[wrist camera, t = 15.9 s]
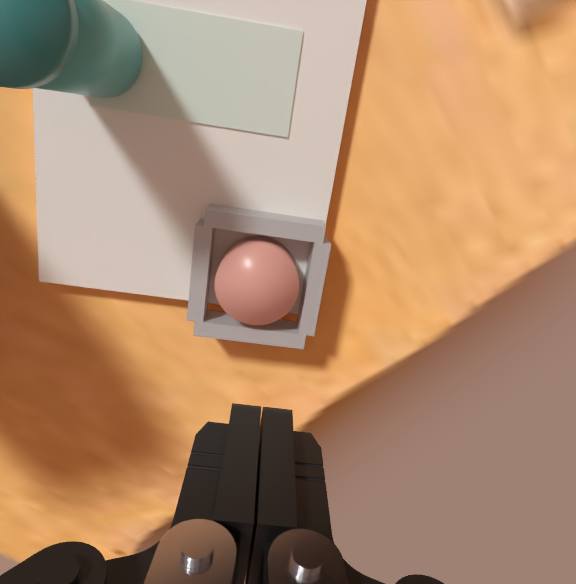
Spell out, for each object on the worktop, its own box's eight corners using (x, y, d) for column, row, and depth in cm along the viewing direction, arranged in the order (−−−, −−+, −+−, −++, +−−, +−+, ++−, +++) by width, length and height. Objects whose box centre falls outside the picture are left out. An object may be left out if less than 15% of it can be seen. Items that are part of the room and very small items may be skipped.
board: (383, -82, 19) (398, -109, 17) (307, 330, 26) (311, 350, 24) (34, -153, 18) (1, -191, 16) (46, 297, 25) (24, 315, 22)
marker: (149, 11, 19) (64, -66, 12) (145, 106, 21) (67, 96, 13) (56, -5, 19) (-95, -94, 11) (59, 93, 20) (-75, 75, 13)
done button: (302, 241, 23) (305, 251, 21) (290, 314, 24) (292, 330, 23) (223, 230, 23) (218, 239, 21) (215, 304, 24) (210, 319, 22)
